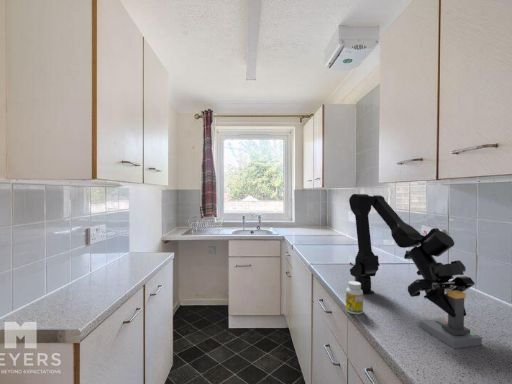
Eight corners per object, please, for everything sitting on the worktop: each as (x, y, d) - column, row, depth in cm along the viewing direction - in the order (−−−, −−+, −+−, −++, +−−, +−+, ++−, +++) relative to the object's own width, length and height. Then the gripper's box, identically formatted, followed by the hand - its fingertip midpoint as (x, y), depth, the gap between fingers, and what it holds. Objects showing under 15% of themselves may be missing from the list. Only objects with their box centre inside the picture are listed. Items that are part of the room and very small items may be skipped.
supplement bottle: (366, 314, 87) (366, 285, 87) (351, 315, 86) (351, 286, 86) (356, 307, 92) (357, 279, 92) (342, 308, 91) (343, 280, 91)
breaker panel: (419, 326, 79) (419, 320, 79) (444, 324, 81) (444, 317, 81) (454, 348, 69) (454, 340, 69) (481, 344, 71) (481, 336, 71)
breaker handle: (441, 327, 74) (442, 290, 74) (456, 326, 75) (456, 289, 75) (455, 335, 71) (455, 295, 70) (470, 333, 72) (470, 294, 72)
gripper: (416, 251, 75) (451, 307, 64) (469, 249, 79) (511, 301, 68) (395, 270, 83) (424, 323, 72) (444, 268, 87) (478, 317, 76)
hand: (459, 316), depth 72 cm, fingers closed on breaker handle, 3 cm apart
